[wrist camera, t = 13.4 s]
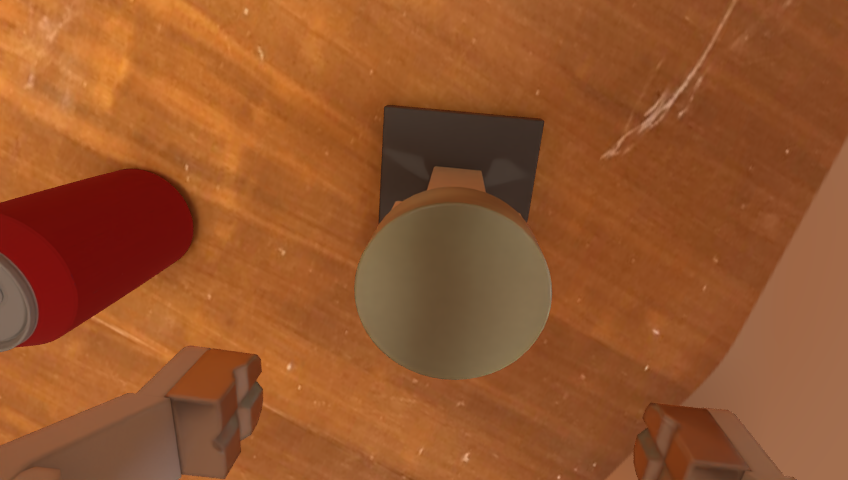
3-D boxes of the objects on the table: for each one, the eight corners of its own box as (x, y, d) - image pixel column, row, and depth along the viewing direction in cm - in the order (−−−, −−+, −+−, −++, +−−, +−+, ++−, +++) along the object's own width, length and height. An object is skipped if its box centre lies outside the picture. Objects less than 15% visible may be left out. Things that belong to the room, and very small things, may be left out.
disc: (555, 195, 14) (569, 212, 12) (526, 354, 16) (535, 390, 15) (369, 177, 15) (355, 193, 13) (364, 337, 17) (351, 370, 15)
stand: (541, 118, 26) (612, 158, 14) (517, 261, 29) (557, 396, 17) (387, 104, 27) (323, 130, 14) (380, 246, 30) (322, 369, 17)
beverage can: (82, 193, 30) (-145, 263, 19) (158, 147, 29) (-38, 194, 17) (145, 276, 32) (-28, 386, 21) (220, 238, 30) (78, 334, 19)
